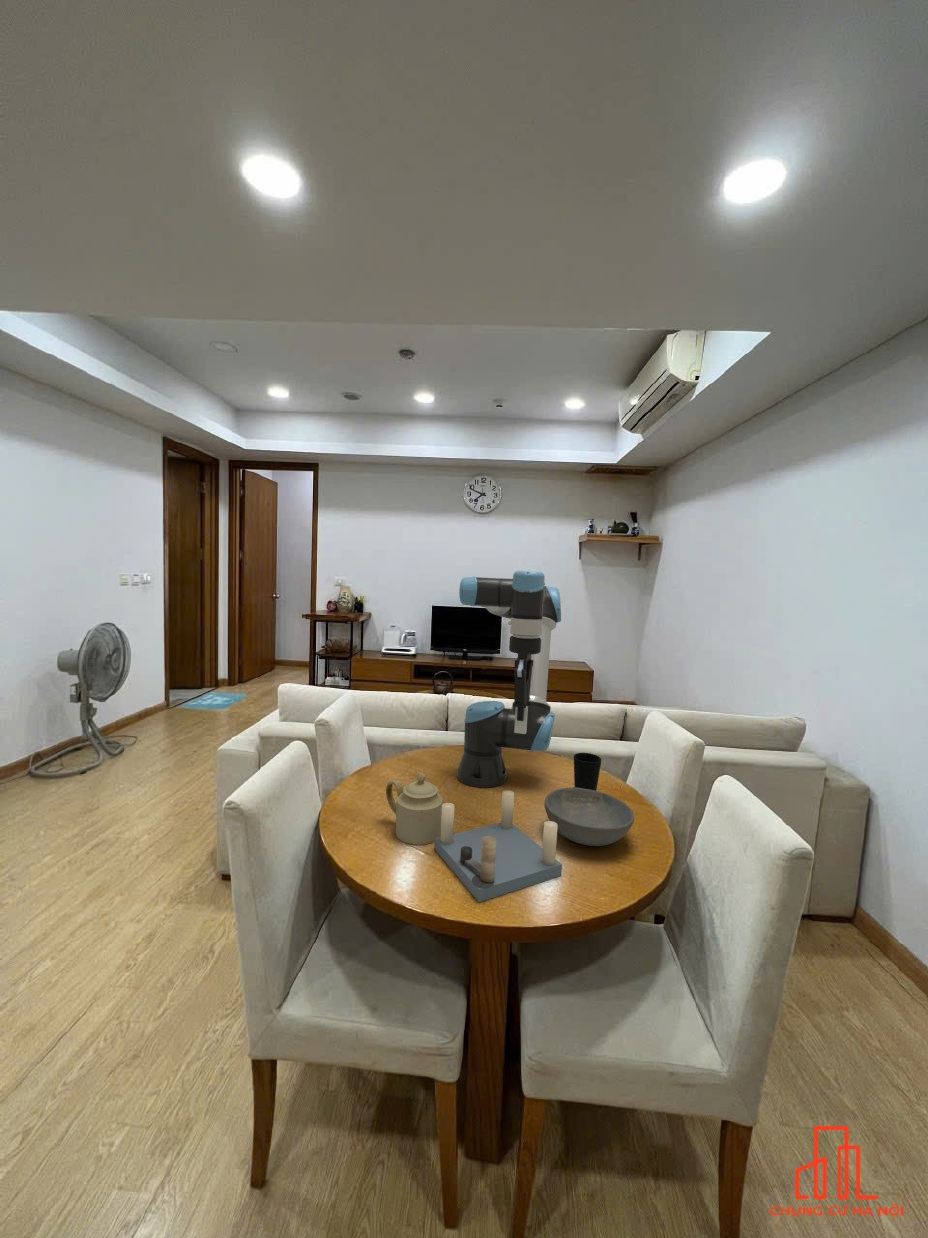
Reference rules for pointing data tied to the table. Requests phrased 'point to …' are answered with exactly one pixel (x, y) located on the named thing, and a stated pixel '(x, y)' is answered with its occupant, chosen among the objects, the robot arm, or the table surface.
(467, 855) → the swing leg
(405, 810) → the teapot
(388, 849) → the table surface
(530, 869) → the stool seat
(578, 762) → the cup
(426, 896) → the table surface
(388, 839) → the table surface
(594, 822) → the bowl
